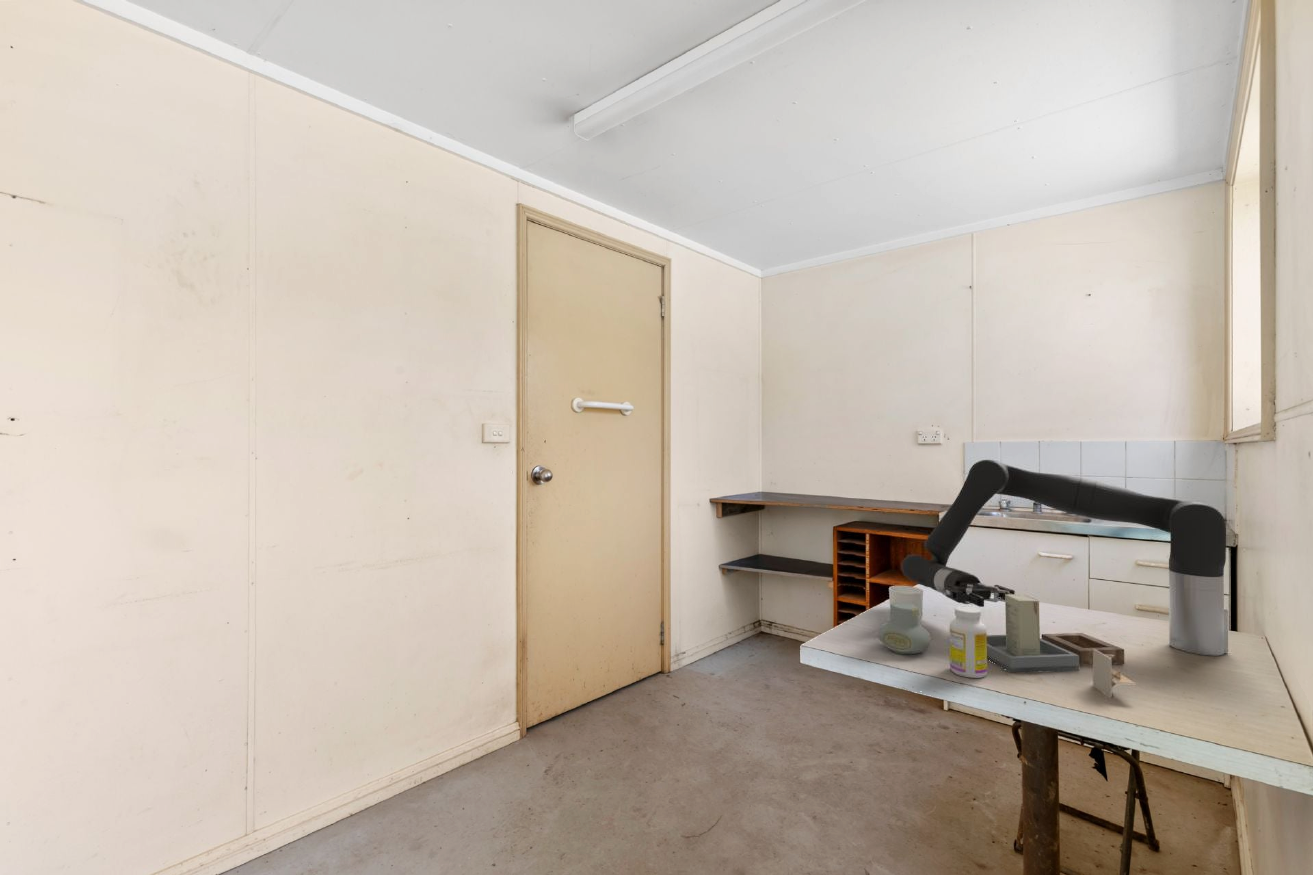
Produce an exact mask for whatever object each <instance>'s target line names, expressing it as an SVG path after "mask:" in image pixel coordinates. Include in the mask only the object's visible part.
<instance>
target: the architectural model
mask: <svg viewBox="0 0 1313 875" xmlns="http://www.w3.org/2000/svg"><path fill="white" fill-rule="evenodd" d="M1114 656H1115V655H1104V654H1102V653H1101V652H1099V651H1097V650H1096V649H1093V665H1092V686H1093V687H1094V686H1095V687H1094V688H1096V689H1097V688H1098V690H1099V691H1100V692H1102V694H1104V693H1105V694H1104V695H1106V696H1107V695H1108V696H1107V697H1109V698H1110V697H1112V695H1113V693H1112V692H1113V691H1112V688H1113V687H1115V685H1123V686H1124V685H1126V686H1127V685H1128V686H1136V682H1134V681H1133V680H1131V679H1129V678H1128V677H1126V676H1125V675H1123V674H1121V672H1122V671H1121V670H1120V669H1117V668H1116V667H1114V666H1113V665H1115V664H1114V663H1115V662H1116V661H1115V662H1114V663H1113V664H1112V658H1113V657H1114Z"/></svg>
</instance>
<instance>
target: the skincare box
mask: <svg viewBox="0 0 1313 875" xmlns="http://www.w3.org/2000/svg"><path fill="white" fill-rule="evenodd" d="M1004 605H1005V607H1004V608H1005V609H1004V610H1005V635H1006V649H1007V650H1008V651H1010V652H1011V653H1013V654H1014V655H1016V656H1032V655H1040V639H1041V634H1040V633H1041V631H1040V628H1041V627H1040V601H1039V600H1037V599H1035V598H1034V597H1030V596H1029V595H1026V594H1005V602H1004Z"/></svg>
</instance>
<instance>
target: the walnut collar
mask: <svg viewBox="0 0 1313 875" xmlns="http://www.w3.org/2000/svg"><path fill="white" fill-rule="evenodd" d="M1041 639H1043V640H1045V641H1047V642H1049V643H1052V644H1054V645H1056V646H1059V647H1061V648H1063V649H1065V650H1068V651H1070V652H1072V653H1074V654H1077V655H1079V666H1093V649H1096V650H1097V651H1099V652H1101V653H1102V654H1104V655H1115V656H1114V657H1113V658H1112V664H1113V663H1114V662H1115V661H1116V662H1115V663H1114V664H1113V665H1119V664H1120V665H1124V664H1125V648H1123V647H1119V646H1117V645H1114V644H1113V643H1109V642H1107V641H1104V640H1101V639H1099V638H1096V637H1093V636H1091V635H1088V634H1086V633H1083V632H1067V633H1065V632H1063V633H1042V634H1041Z"/></svg>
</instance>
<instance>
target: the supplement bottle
mask: <svg viewBox="0 0 1313 875" xmlns="http://www.w3.org/2000/svg"><path fill="white" fill-rule="evenodd" d="M981 613H982V612H981V610H980V609H979V608H976V607H972V606H965V605H964V606H955V608H954V616H955V618H954V619H952V620H951V621H950V622H949V667H950V670H951V671H952V672H953V673H954V674H956V675H958V676H961V677H965V678H970V679H972V678H973V679H981V678H984V677H986V676H987V675H988V660H987V635H988V633H987V627H986V625H985V624H984V623H983V622H981V616H982V614H981Z"/></svg>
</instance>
